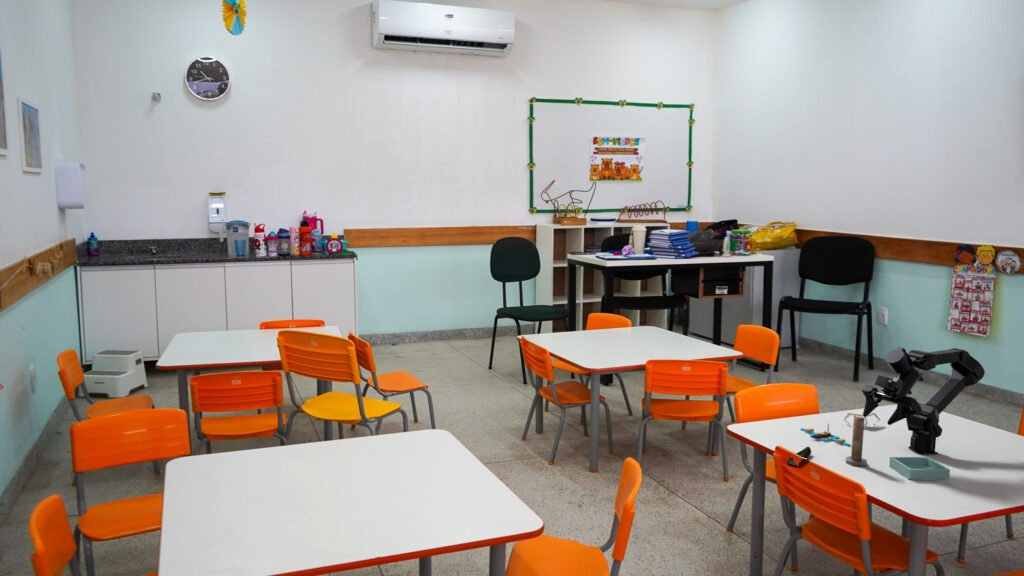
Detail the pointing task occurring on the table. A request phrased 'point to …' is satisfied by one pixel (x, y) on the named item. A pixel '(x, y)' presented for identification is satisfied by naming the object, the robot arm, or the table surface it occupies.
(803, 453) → the electric trimmer
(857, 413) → the eyeglasses
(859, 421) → the rod
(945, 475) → the tray
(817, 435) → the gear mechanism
